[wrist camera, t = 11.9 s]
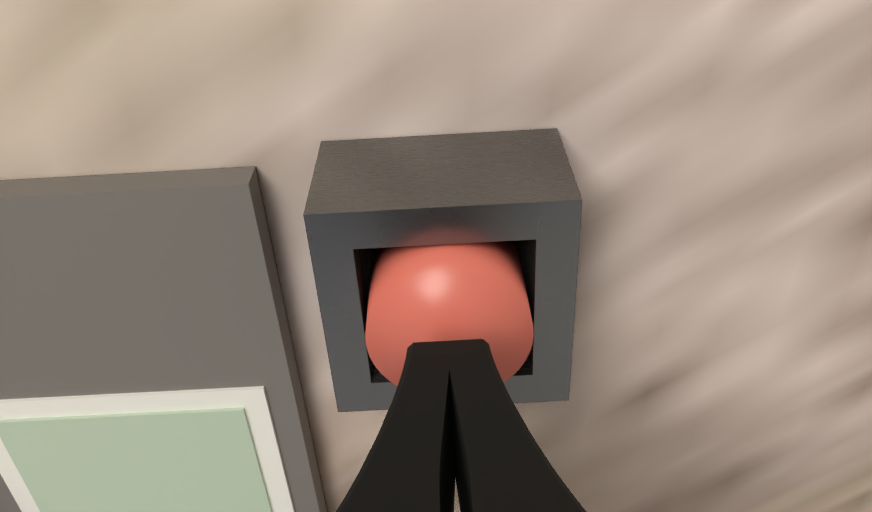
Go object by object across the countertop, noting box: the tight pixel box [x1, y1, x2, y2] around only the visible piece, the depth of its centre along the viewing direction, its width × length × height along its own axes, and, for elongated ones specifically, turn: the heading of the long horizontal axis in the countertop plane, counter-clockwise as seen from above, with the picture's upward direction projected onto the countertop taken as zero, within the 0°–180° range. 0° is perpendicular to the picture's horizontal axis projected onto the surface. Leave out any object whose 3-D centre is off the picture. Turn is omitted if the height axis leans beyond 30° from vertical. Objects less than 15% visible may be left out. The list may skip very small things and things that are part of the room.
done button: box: [365, 241, 534, 386], centre depth 15 cm, size 3×3×2 cm
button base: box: [303, 128, 582, 412], centre depth 16 cm, size 5×5×3 cm
